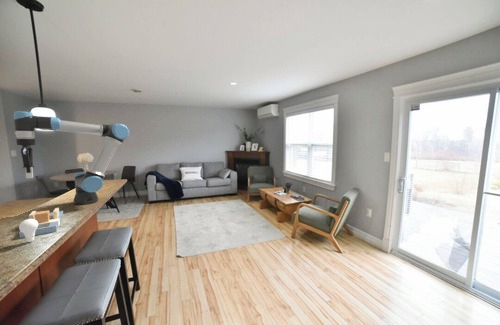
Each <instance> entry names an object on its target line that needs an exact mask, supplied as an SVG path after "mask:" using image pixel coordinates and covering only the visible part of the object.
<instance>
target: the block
mask: <svg viewBox="0 0 500 325" xmlns="http://www.w3.org/2000/svg"><path fill="white" fill-rule="evenodd" d="M50 213H51V212H50V210H49V209H48V210H41V211H40V210H39V211H36V213H35V220H36V221H37V222H38V223H43V222H49V220H50Z"/></svg>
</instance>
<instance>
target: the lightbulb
mask: <svg viewBox="0 0 500 325" xmlns="http://www.w3.org/2000/svg"><path fill="white" fill-rule="evenodd" d="M37 227H38V222H37V221H36V220H34V219H29V218H28V219H24V220H23V221H21V222H20V224H19V225H18V229H19V231H21V232H23V233H24V235H25V237H24V239H25V240H26V242H28V243H32V242H33V241H35V236H36V235H35V231H36V229H37Z"/></svg>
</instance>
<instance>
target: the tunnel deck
mask: <svg viewBox="0 0 500 325" xmlns="http://www.w3.org/2000/svg"><path fill="white" fill-rule="evenodd" d="M36 212H37V210H32V211H31V212H30V214H29V215H28V219H34V220H35V213H36ZM63 217H64V210H61V211H60V207H55V208H54V209H53V211H52V212H50V219H56V218H60V223H61V222H62V219H63ZM59 226H60V224H58V221H56V222H51V223H50V225H49V226H48V227H42V228H37V229H36V231H35V236H40V235H46V234H51V233H56V232H57V231H58V229H59ZM18 234H19V239H23V238H24V239H25V235H24V233H23V232H21V230H19V232H18Z"/></svg>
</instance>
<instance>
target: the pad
mask: <svg viewBox="0 0 500 325" xmlns="http://www.w3.org/2000/svg"><path fill="white" fill-rule="evenodd" d="M56 221H58V224H59V225H60V223H61V222H60V218H56V219H50V220H49V222H43V223H38V227H37V228H42V227H48V226H49V225H50V223H51V222H56Z"/></svg>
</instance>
